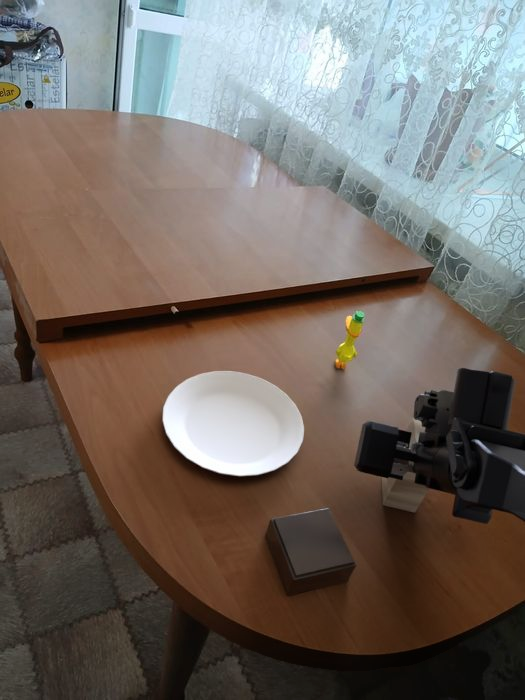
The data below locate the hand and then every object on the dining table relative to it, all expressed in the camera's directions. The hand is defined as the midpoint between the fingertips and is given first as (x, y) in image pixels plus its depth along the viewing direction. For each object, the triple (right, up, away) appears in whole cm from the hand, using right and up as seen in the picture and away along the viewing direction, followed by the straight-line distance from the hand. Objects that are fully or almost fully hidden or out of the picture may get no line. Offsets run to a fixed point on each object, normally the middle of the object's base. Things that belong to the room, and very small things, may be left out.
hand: (413, 458), depth 74 cm
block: (-1, -6, +3) cm, 7 cm away
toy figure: (-7, +12, +24) cm, 28 cm away
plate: (-25, +3, +7) cm, 26 cm away
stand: (-15, -11, -7) cm, 20 cm away
